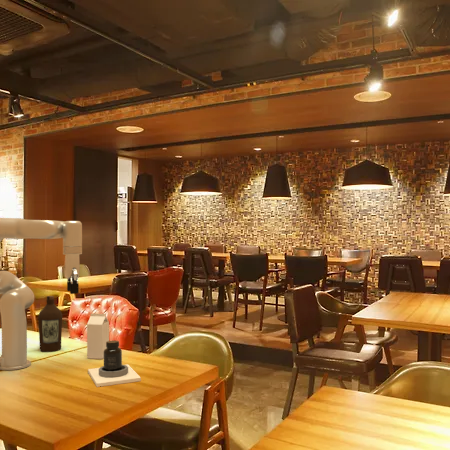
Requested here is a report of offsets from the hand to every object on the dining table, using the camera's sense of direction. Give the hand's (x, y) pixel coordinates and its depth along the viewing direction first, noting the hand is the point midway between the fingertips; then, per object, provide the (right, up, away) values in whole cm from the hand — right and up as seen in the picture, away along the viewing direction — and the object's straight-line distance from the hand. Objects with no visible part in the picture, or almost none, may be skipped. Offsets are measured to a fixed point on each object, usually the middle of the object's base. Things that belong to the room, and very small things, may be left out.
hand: (72, 292), depth 203 cm
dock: (+20, -30, -15) cm, 39 cm away
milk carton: (+7, -31, +14) cm, 34 cm away
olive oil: (-19, -31, +27) cm, 45 cm away
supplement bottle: (+20, -29, -15) cm, 38 cm away
